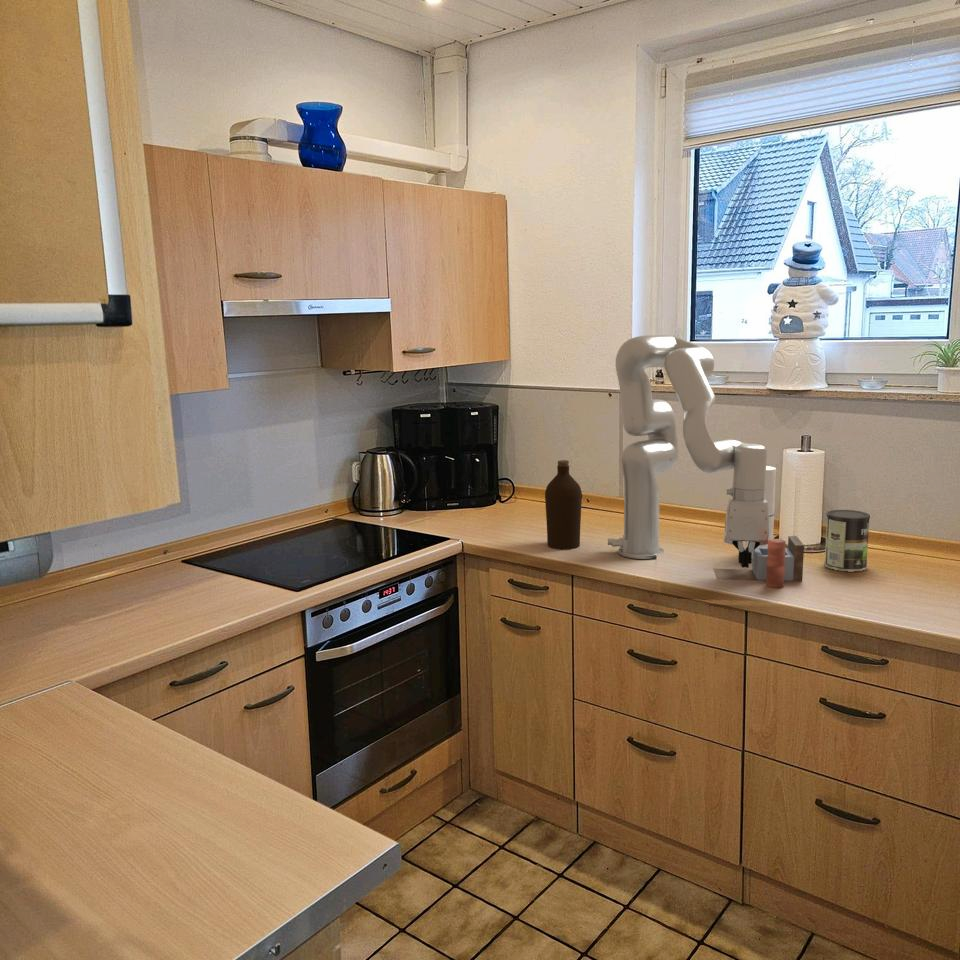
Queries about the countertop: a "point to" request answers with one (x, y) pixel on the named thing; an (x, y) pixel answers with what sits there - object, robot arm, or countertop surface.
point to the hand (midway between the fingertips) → (744, 566)
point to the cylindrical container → (769, 500)
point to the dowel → (775, 563)
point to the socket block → (761, 564)
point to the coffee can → (847, 540)
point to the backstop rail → (743, 574)
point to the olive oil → (563, 509)
